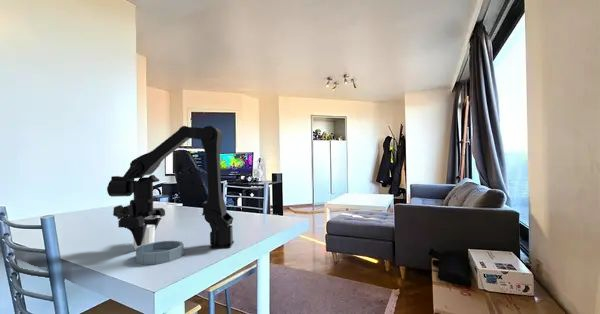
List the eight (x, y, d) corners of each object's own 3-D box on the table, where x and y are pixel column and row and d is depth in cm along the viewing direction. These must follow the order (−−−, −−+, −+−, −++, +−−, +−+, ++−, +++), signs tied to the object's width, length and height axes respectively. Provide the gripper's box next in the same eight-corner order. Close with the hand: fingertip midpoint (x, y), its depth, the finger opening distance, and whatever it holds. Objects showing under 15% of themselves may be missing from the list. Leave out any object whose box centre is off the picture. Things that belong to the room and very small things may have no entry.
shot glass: (145, 251, 92) (145, 229, 93) (127, 250, 94) (126, 228, 94) (160, 244, 99) (159, 224, 99) (142, 244, 101) (142, 223, 101)
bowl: (189, 249, 93) (189, 240, 93) (172, 263, 80) (172, 252, 80) (149, 250, 93) (149, 241, 93) (126, 264, 80) (126, 254, 80)
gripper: (134, 193, 106) (135, 236, 106) (100, 200, 87) (101, 252, 87) (165, 192, 106) (166, 235, 106) (137, 199, 87) (138, 251, 87)
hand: (144, 242), depth 97 cm, fingers closed on shot glass, 6 cm apart
